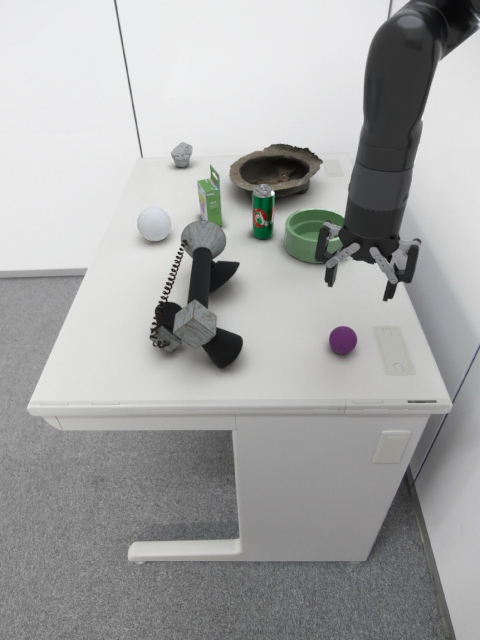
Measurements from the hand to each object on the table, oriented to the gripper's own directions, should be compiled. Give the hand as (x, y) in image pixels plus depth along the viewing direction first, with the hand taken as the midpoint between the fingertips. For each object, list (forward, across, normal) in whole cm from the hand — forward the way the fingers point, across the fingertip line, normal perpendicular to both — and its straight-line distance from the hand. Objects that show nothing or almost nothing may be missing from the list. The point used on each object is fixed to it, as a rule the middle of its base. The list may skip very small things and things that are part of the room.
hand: (357, 291), depth 68 cm
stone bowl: (+14, +35, -52) cm, 64 cm away
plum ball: (+12, +1, -1) cm, 12 cm away
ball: (+14, +52, -18) cm, 56 cm away
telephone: (+14, +28, +2) cm, 32 cm away
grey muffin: (+14, +67, -56) cm, 89 cm away
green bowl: (+14, +15, -30) cm, 36 cm away
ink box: (+14, +43, -30) cm, 55 cm away
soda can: (+14, +29, -30) cm, 44 cm away
